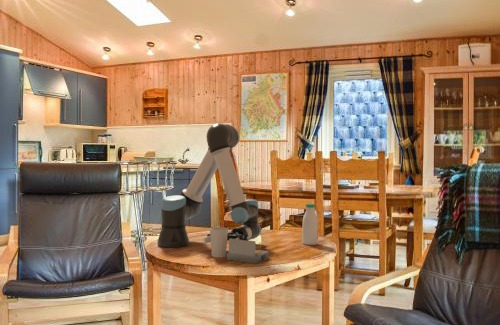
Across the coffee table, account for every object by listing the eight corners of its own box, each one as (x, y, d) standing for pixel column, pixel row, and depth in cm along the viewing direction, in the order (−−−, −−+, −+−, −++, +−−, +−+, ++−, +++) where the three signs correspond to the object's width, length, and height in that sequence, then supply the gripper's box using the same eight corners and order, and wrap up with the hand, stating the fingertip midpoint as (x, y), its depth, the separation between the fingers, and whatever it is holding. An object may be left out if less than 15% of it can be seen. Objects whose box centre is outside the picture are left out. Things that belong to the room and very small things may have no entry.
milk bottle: (317, 245, 236) (317, 204, 236) (301, 244, 238) (301, 204, 237) (318, 242, 244) (318, 203, 243) (302, 242, 245) (303, 202, 245)
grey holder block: (226, 259, 204) (226, 238, 204) (240, 254, 215) (240, 234, 214) (257, 264, 197) (257, 242, 197) (269, 258, 208) (269, 237, 208)
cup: (231, 256, 212) (231, 228, 211) (217, 258, 206) (217, 230, 206) (219, 253, 217) (219, 226, 217) (205, 255, 212) (206, 228, 212)
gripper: (264, 245, 223) (242, 253, 204) (218, 239, 234) (193, 247, 216) (264, 228, 223) (242, 236, 204) (218, 224, 234) (193, 230, 215)
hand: (217, 242), depth 210 cm, fingers open, 13 cm apart
